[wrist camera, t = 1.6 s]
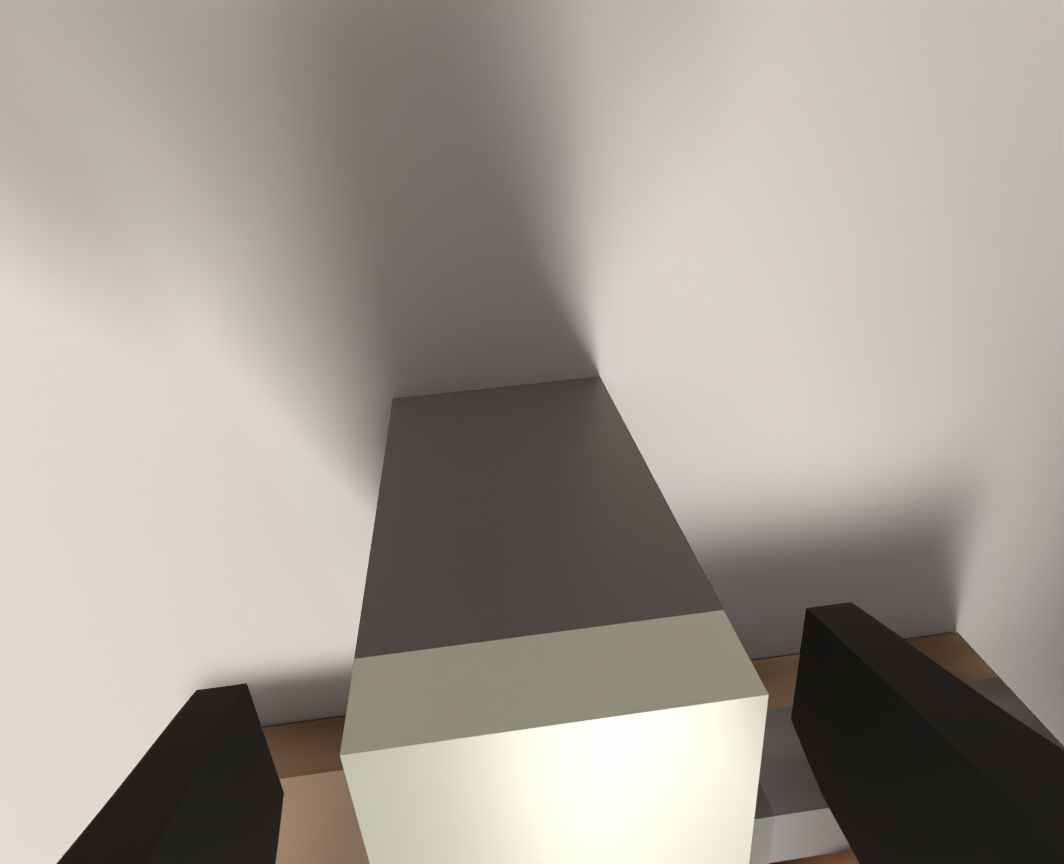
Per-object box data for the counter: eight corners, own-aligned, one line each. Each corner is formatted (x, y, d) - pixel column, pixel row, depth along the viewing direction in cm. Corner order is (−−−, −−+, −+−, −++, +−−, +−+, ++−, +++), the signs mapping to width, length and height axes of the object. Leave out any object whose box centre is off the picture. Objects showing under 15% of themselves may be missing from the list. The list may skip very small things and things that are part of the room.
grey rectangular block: (599, 376, 14) (768, 694, 7) (604, 545, 16) (740, 936, 9) (392, 398, 14) (339, 755, 6) (421, 567, 15) (404, 991, 8)
